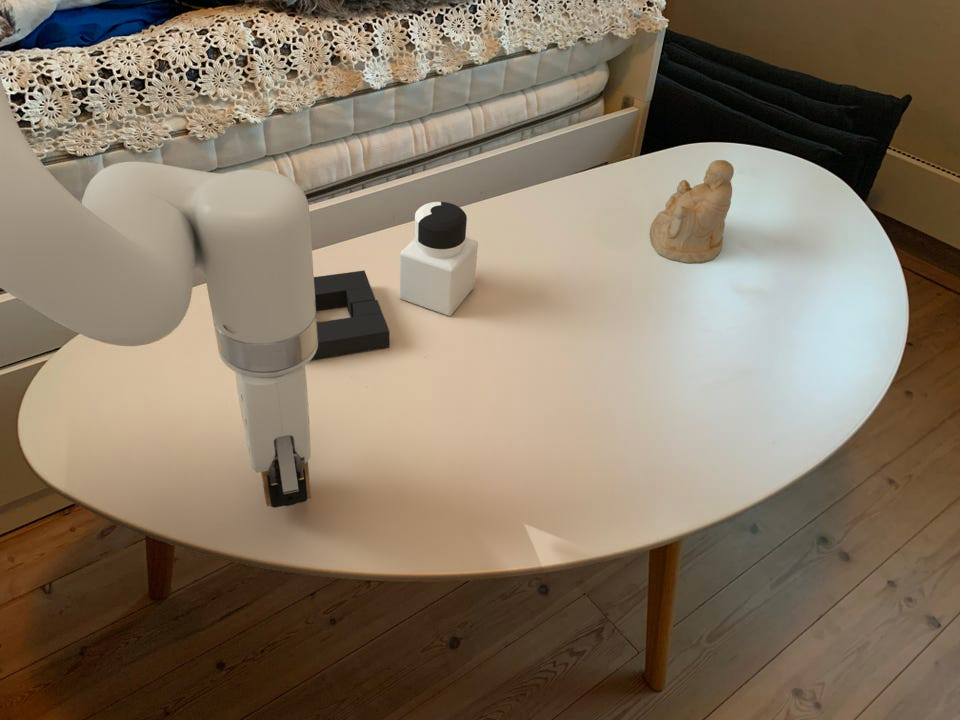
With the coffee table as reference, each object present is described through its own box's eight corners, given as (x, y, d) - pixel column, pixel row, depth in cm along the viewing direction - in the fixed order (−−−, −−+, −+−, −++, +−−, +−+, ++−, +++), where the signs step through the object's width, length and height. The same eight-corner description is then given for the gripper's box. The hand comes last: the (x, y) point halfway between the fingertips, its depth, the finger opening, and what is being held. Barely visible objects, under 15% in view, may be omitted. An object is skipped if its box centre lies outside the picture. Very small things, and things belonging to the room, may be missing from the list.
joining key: (266, 507, 70) (260, 464, 66) (261, 473, 73) (254, 430, 69) (311, 498, 71) (307, 455, 67) (304, 465, 74) (300, 422, 70)
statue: (774, 204, 99) (705, 173, 98) (713, 284, 109) (649, 257, 107) (761, 159, 109) (697, 131, 107) (705, 237, 118) (646, 212, 116)
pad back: (283, 329, 91) (281, 312, 89) (276, 298, 95) (274, 282, 93) (375, 315, 94) (375, 299, 92) (365, 286, 98) (364, 270, 96)
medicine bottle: (475, 287, 99) (482, 205, 91) (450, 318, 95) (455, 234, 86) (425, 270, 101) (428, 189, 93) (398, 299, 96) (398, 216, 88)
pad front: (293, 363, 87) (291, 346, 85) (285, 329, 91) (283, 313, 89) (389, 347, 90) (389, 331, 88) (377, 315, 94) (377, 299, 92)
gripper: (207, 272, 64) (234, 424, 76) (226, 416, 53) (254, 567, 65) (299, 262, 66) (311, 411, 78) (337, 398, 55) (343, 547, 67)
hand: (285, 480), depth 72 cm, fingers closed on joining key, 4 cm apart
